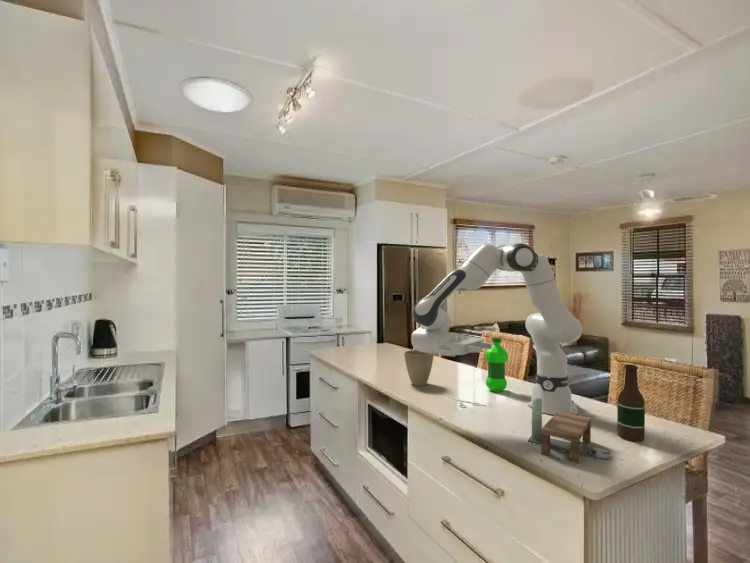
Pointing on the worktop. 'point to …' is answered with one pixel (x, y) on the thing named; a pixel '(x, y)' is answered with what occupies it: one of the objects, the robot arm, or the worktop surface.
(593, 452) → the silver flat disc
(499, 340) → the plastic bottle
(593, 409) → the worktop surface
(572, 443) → the bench
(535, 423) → the cylinder
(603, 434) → the worktop surface
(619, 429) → the beer bottle
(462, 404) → the scissors
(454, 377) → the worktop surface
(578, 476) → the worktop surface
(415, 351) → the plant pot
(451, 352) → the robot arm
